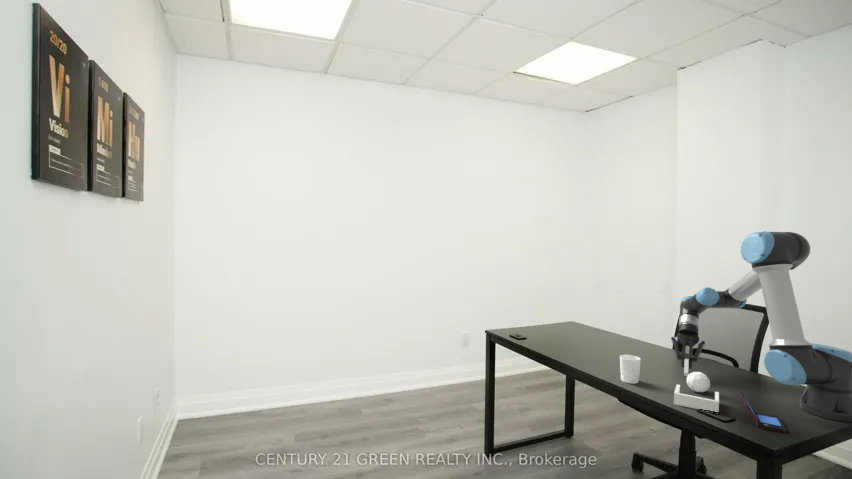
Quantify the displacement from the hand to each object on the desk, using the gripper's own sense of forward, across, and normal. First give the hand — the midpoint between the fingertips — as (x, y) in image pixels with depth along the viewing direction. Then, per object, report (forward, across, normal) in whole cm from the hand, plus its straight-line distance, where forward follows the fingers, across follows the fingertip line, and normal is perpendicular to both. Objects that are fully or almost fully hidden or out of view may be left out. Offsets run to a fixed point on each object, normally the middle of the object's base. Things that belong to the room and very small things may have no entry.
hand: (686, 374), depth 175 cm
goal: (+19, -4, +14) cm, 24 cm away
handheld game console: (+23, -23, +17) cm, 37 cm away
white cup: (+11, +20, +6) cm, 23 cm away
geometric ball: (+9, -4, +4) cm, 11 cm away
